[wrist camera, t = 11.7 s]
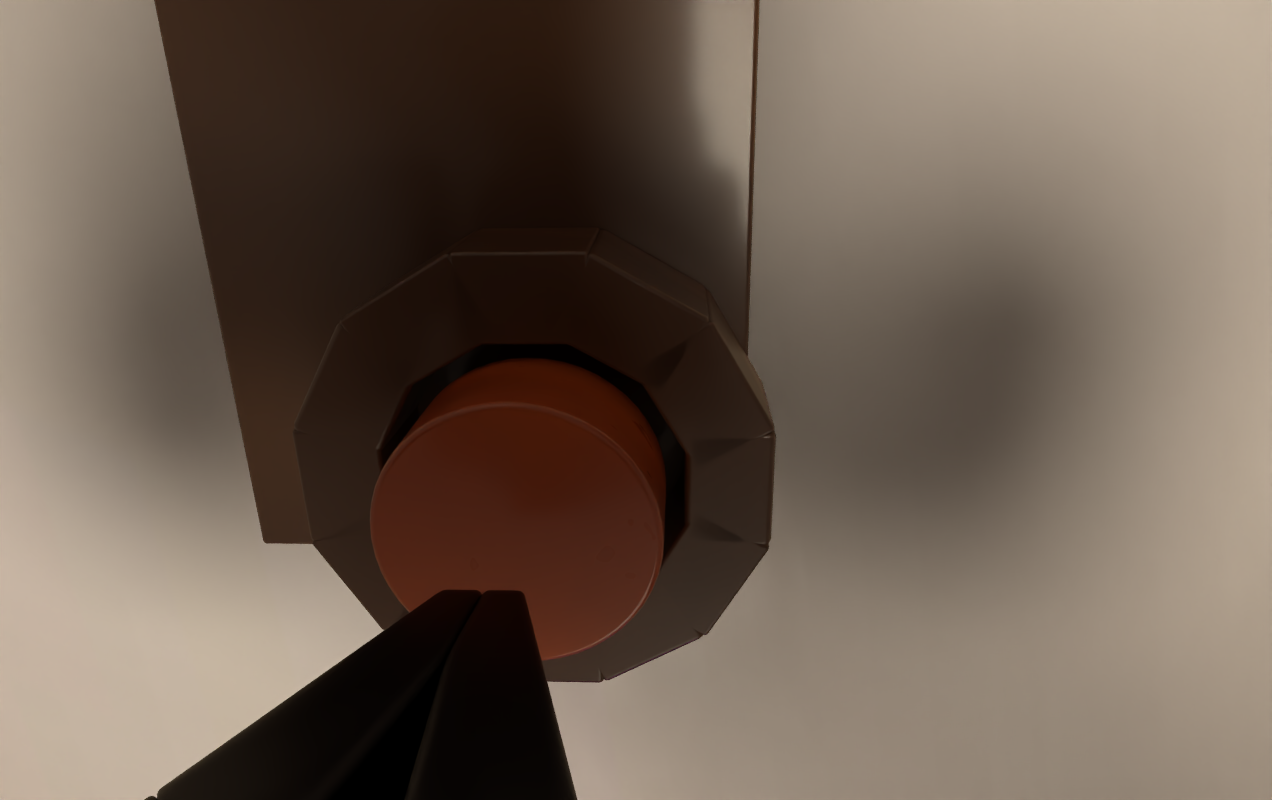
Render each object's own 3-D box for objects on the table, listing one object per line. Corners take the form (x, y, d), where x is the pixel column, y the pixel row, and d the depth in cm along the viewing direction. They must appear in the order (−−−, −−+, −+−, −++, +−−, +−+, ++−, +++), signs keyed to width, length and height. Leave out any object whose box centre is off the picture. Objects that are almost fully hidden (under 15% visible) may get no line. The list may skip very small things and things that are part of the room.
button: (666, 588, 12) (664, 666, 11) (425, 585, 12) (386, 661, 11) (665, 355, 11) (663, 402, 9) (395, 355, 11) (347, 402, 10)
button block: (745, 546, 16) (764, 688, 12) (325, 541, 17) (222, 677, 13) (766, -55, 12) (803, -110, 9) (225, -41, 13) (39, -88, 9)
